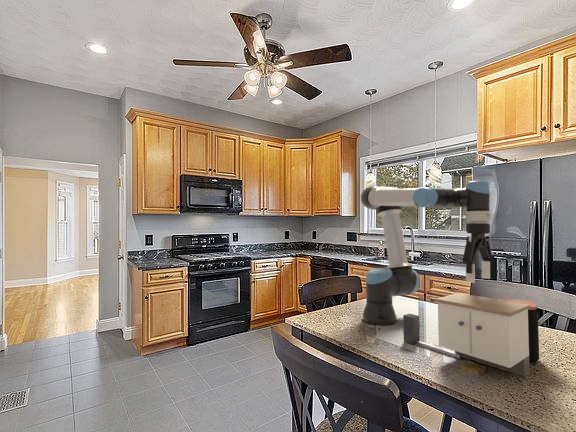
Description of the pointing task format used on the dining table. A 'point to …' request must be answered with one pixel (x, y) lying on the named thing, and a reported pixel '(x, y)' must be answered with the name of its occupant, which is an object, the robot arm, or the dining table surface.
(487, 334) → the toe-kick cabinet
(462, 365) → the brass block
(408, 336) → the grey post with bar
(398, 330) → the dining table surface
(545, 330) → the dining table surface
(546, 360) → the dining table surface
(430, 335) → the dining table surface
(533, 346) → the coffee jar
